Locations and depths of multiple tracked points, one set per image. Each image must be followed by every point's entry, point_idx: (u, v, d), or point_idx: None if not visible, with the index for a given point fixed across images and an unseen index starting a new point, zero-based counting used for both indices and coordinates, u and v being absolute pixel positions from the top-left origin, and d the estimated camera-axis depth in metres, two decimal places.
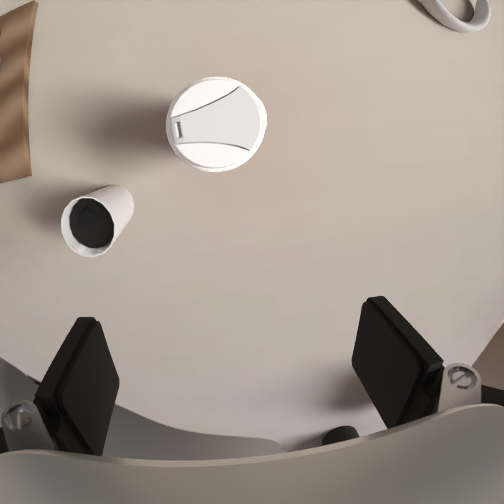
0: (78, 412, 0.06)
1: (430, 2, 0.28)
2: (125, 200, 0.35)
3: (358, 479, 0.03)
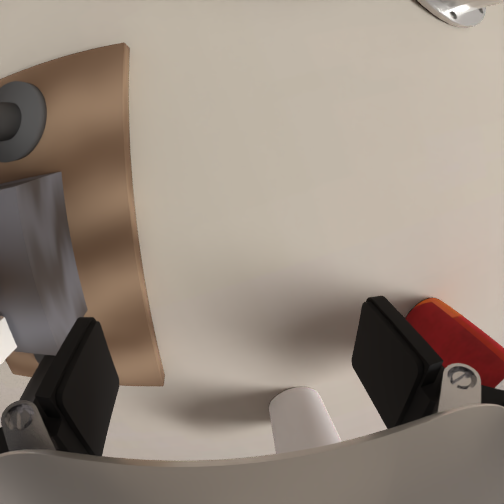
0: (78, 412, 0.06)
1: None
2: (329, 416, 0.27)
3: (358, 479, 0.03)
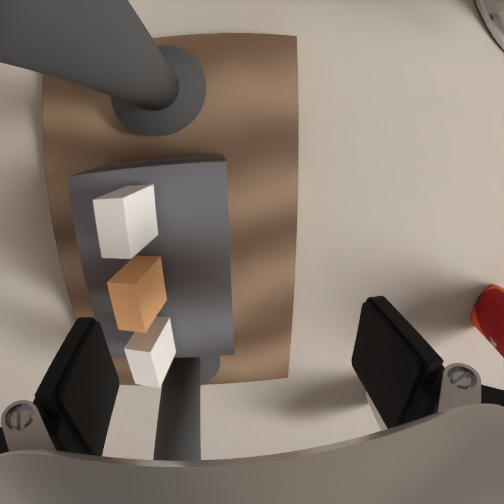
0: (78, 412, 0.06)
1: None
2: None
3: (358, 479, 0.03)
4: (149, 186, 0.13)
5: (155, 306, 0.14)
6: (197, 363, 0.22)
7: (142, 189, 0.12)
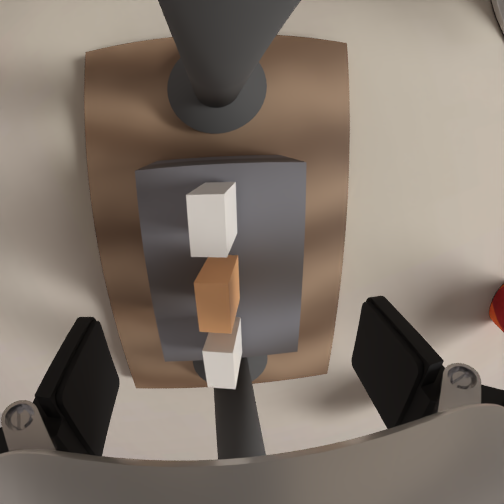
0: (78, 412, 0.06)
1: None
2: None
3: (358, 479, 0.03)
4: (233, 183, 0.13)
5: (235, 305, 0.14)
6: (247, 362, 0.23)
7: (231, 186, 0.12)
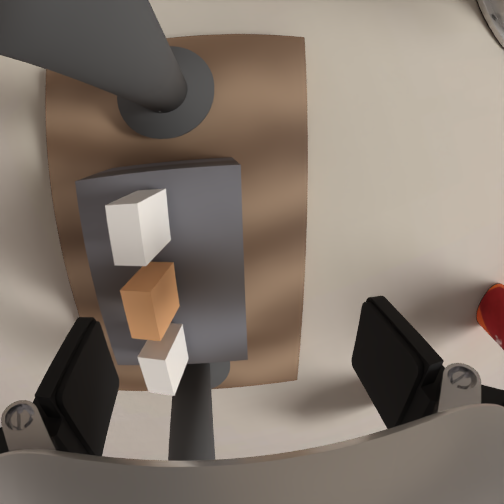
0: (78, 412, 0.06)
1: None
2: None
3: (358, 479, 0.03)
4: (162, 190, 0.13)
5: (169, 313, 0.14)
6: (207, 368, 0.22)
7: (155, 194, 0.12)
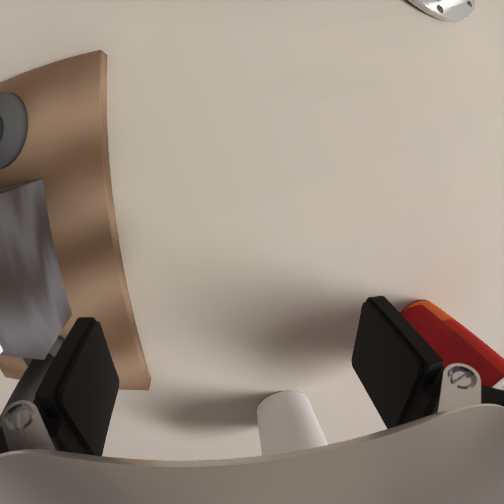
0: (78, 412, 0.06)
1: None
2: None
3: (358, 479, 0.03)
4: None
5: None
6: None
7: None
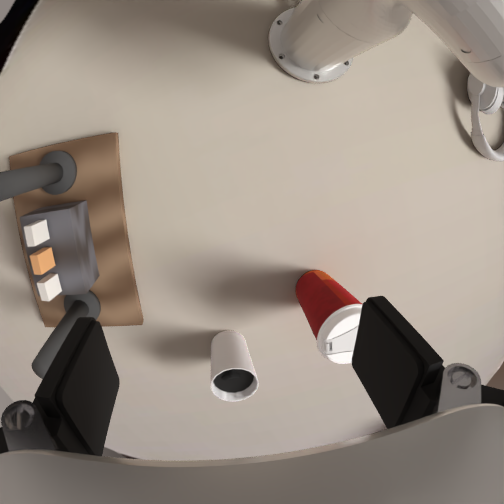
0: (78, 412, 0.06)
1: (480, 143, 0.41)
2: (247, 349, 0.46)
3: (358, 479, 0.03)
4: (44, 220, 0.30)
5: (47, 266, 0.31)
6: (84, 307, 0.39)
7: (40, 222, 0.30)
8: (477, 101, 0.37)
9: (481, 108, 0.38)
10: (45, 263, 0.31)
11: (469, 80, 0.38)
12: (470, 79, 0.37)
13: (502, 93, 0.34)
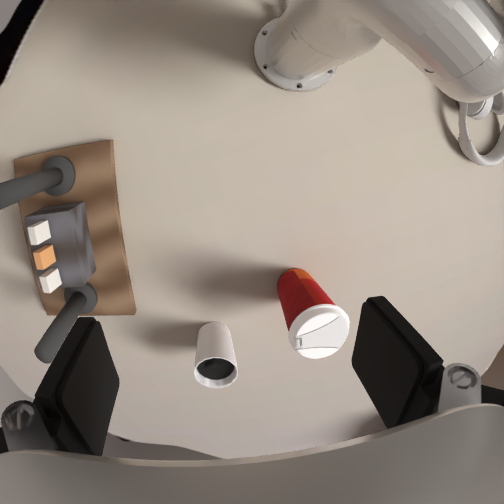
0: (78, 412, 0.06)
1: (467, 149, 0.43)
2: (230, 340, 0.50)
3: (358, 479, 0.03)
4: (45, 221, 0.34)
5: (49, 261, 0.35)
6: (82, 298, 0.43)
7: (42, 223, 0.33)
8: (465, 107, 0.39)
9: (469, 113, 0.40)
10: (47, 259, 0.34)
11: None
12: None
13: (491, 99, 0.36)
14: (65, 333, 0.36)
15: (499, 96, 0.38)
